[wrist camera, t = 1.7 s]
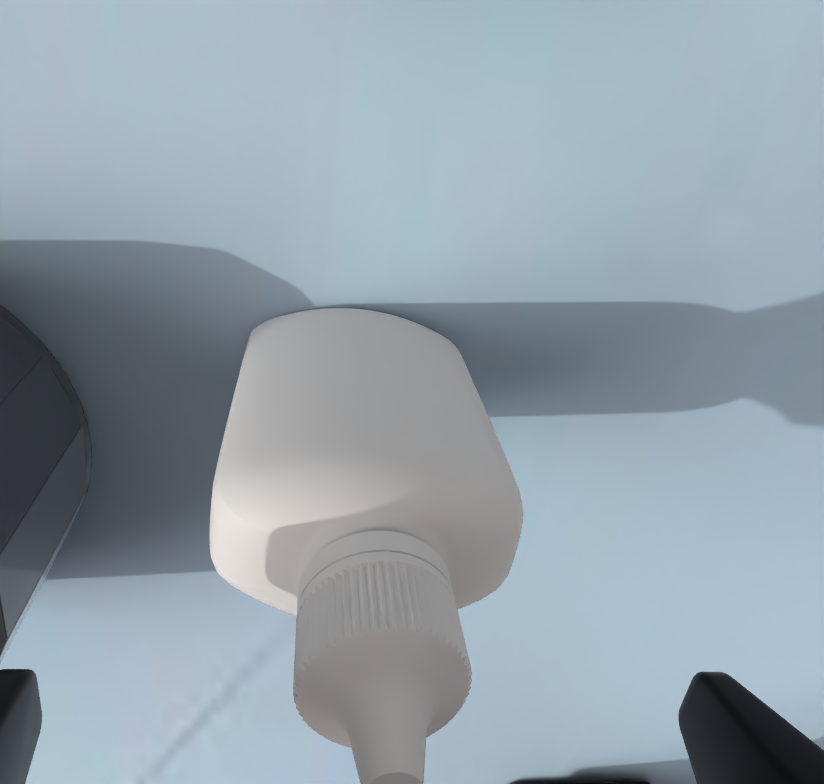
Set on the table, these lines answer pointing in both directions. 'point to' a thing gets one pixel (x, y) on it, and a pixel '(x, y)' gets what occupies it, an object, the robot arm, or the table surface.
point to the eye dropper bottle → (365, 521)
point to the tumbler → (35, 468)
